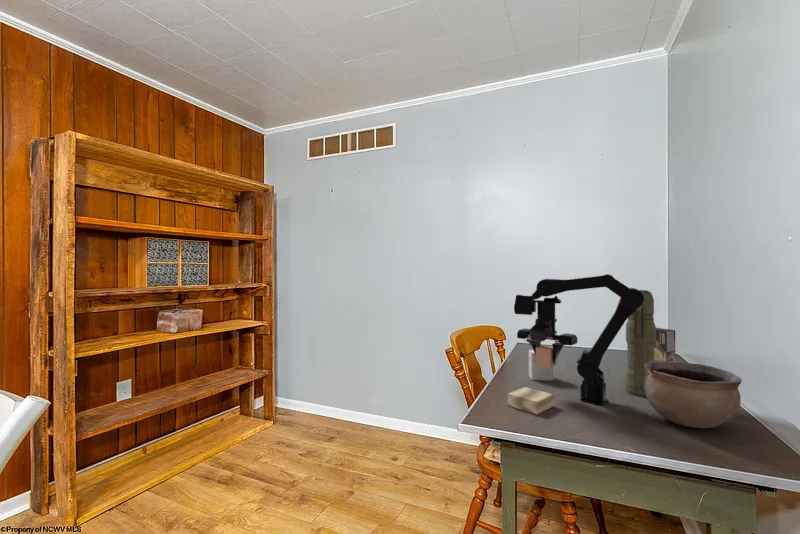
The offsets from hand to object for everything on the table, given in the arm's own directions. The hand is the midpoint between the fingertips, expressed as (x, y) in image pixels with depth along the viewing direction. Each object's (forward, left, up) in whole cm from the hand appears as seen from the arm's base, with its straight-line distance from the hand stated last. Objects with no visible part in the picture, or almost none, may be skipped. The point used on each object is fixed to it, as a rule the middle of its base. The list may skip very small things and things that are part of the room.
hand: (546, 361), depth 133 cm
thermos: (-23, -23, -11) cm, 34 cm away
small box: (+9, -16, -11) cm, 22 cm away
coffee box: (-21, -68, -11) cm, 72 cm away
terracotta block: (0, 0, -1) cm, 1 cm away
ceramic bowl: (-39, -4, -11) cm, 41 cm away
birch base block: (-1, +14, -11) cm, 18 cm away
